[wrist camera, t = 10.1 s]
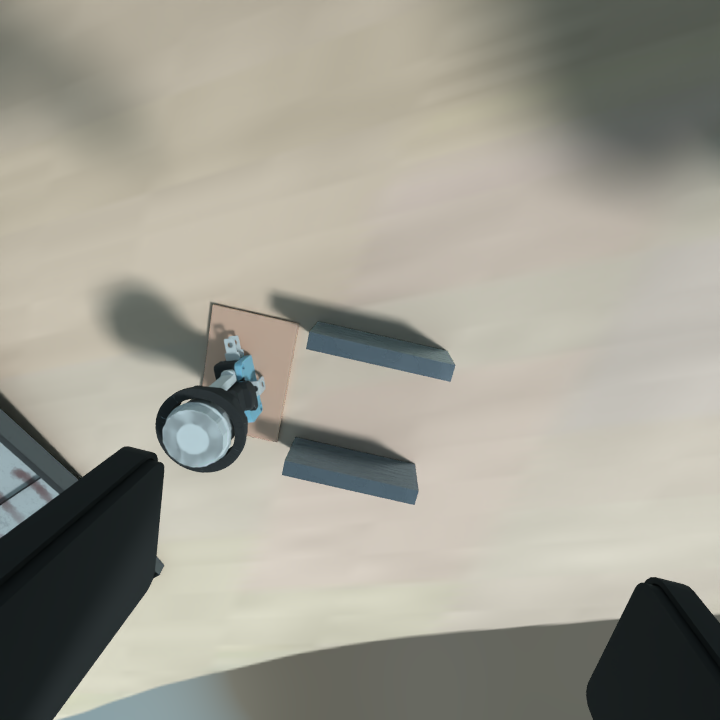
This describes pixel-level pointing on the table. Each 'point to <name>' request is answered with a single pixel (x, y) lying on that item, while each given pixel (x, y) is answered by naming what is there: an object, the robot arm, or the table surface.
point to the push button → (212, 414)
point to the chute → (353, 465)
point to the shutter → (29, 477)
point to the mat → (256, 359)
